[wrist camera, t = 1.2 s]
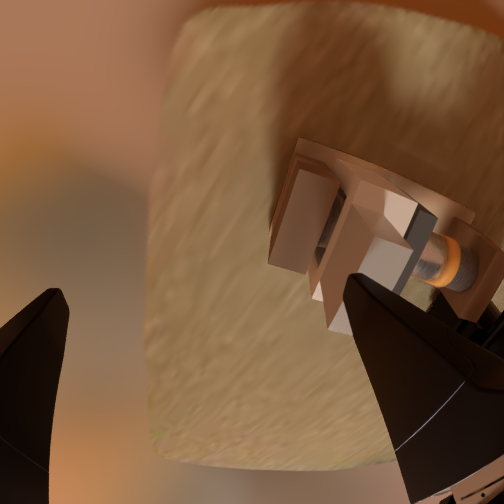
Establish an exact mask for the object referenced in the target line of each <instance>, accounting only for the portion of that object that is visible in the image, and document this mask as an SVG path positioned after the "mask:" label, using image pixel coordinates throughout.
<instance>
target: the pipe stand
mask: <svg viewBox="0 0 504 504" xmlns="http://www.w3.org/2000/svg"><path fill="white" fill-rule="evenodd" d="M337 158H338V159H340V160H343V161H346V162H348V163H351V164H354V165H356V166H359V167H362V168H364V169H367V170H369V171H372V172H374V173H377V174H379V175H381V176H382V177H384V178H385V179H386V180H388V181H389V182H391V183H392V184H393V185H395V186H396V187H398V188H400V189H401V190H403V191H404V192H405V193H407V194H408V195H409V196H411V197H412V198H413V199H415V200H416V201H417V202H419V203H420V204H421V205H422V206H424V207H425V208H426V209H427V210H429V211H430V212H431V213H432V214H434V215H435V216H436V217H437V218H438V220H437V223H436V225H435V227H434V229H433V231H432V234H431V236H430V238H429V240H428V242H427V244H426V246H425V248H424V250H423V252H422V254H421V256H420V258H419V260H418V262H417V264H416V266H415V268H414V270H413V272H412V274H411V275H410V277H409V279H412V280H415V281H418V282H421V283H424V284H427V285H430V286H433V287H436V288H439V290H440V291H441V292H442V294H443V295H444V297H445V298H446V300H447V301H448V303H449V304H450V306H451V307H452V309H453V310H454V312H455V313H456V315H457V316H458V318H461V319H465V320H468V321H472V322H475V323H476V322H477V321H478V319H479V318H480V316H481V315H482V313H483V312H484V310H485V309H486V307H487V306H488V304H489V302H490V301H491V299H492V297H493V296H494V294H495V292H496V291H497V289H498V287H499V286H500V284H501V282H502V280H503V278H504V252H503V251H502V250H501V249H500V248H499V247H498V246H496V245H495V244H494V243H493V242H492V241H490V240H489V239H488V238H487V237H486V236H484V235H483V234H482V233H481V232H479V231H478V230H477V229H475V228H474V227H473V226H472V225H471V224H472V222H473V219H474V217H475V215H476V214H475V213H474V212H473V211H471V210H470V209H468V208H466V207H464V206H462V205H460V204H458V203H457V202H455V201H453V200H451V199H449V198H447V197H445V196H443V195H441V194H439V193H437V192H435V191H433V190H431V189H429V188H427V187H425V186H423V185H420V184H418V183H416V182H414V181H412V180H410V179H407V178H405V177H403V176H401V175H399V174H396V173H394V172H392V171H389V170H387V169H385V168H382V167H380V166H377V165H375V164H372V163H370V162H367V161H365V160H362V159H360V158H357V157H355V156H352V155H349V154H347V153H344V152H341V151H339V150H336V149H333V148H330V147H327V146H324V145H322V144H319V143H316V142H313V141H310V140H307V139H304V138H300V137H298V141H297V144H296V147H295V150H294V153H293V156H292V160H291V163H290V166H289V169H288V172H287V176H286V179H285V182H284V185H283V188H282V191H281V194H280V198H279V201H278V204H277V207H276V210H275V213H274V216H273V219H272V223H271V226H270V229H269V235H270V236H271V240H270V249H269V257H268V264H270V265H274V266H277V267H281V268H284V269H288V270H291V271H295V272H298V273H302V274H306V271H307V269H308V266H309V264H310V262H311V259H312V257H313V254H314V252H315V249H316V247H317V246H319V247H322V248H325V249H326V248H327V246H328V243H329V241H330V238H331V236H332V234H333V231H334V229H335V226H336V224H337V221H338V218H339V216H340V213H341V211H342V208H343V206H344V203H345V200H346V197H343V196H340V195H337V192H338V189H339V187H340V184H341V182H340V181H339V180H338V179H337V177H336V176H335V175H334V174H333V172H332V171H333V168H334V165H335V162H336V159H337Z"/></svg>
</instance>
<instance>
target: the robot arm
mask: <svg viewBox="0 0 504 504" xmlns="http://www.w3.org/2000/svg"><path fill="white" fill-rule="evenodd" d="M343 302H344V305H345V309H346V312H347V316H348V319H349V323H350V326H351V330H352V334H353V337H354V340H355V343H356V346H357V348H358V351H359V353H360V356H361V358H362V361H363V363H364V366H365V369H366V371H367V374H368V377H369V379H370V382H371V385H372V387H373V390H374V393H375V395H376V398H377V401H378V404H379V406H380V409H381V412H382V415H383V418H384V421H385V424H386V427H387V429H388V432H389V435H390V438H391V441H392V444H393V448H394V450H395V454H396V457H397V461H398V463H399V467H400V470H401V473H402V477H403V480H404V483H405V486H406V490H407V494H408V497H409V501H410V503H411V504H415V503H417V502H420V501H422V500H424V499H426V498H429V497H431V496H433V495H435V494H437V493H439V492H441V491H443V490H445V489H447V488H449V487H450V489H451V491H452V494H451V495H450V496H448V497H446V498H445V499H443V500H441V501H440V503H439V504H504V311H503V312H502V313H501V312H500V311H499V310H498V308H497V307H496V306H495V304H494V303H493V302H492V301H490V302H489V304H488V306H487V307H486V309H485V310H484V312H483V313H482V315H481V316H480V318H479V319H478V321H477V322H476V323H475V322H472V321H468V320H465V319H461V318H458V316H457V315H456V313H455V312H454V310H453V309H452V307H451V306H450V304H449V303H448V301H447V300H446V298H445V297H444V295H443V294H442V292H441V294H440V295H439V297H438V299H437V300H436V302H435V304H434V305H433V307H432V309H431V310H430V312H429V313H426V312H424V311H423V310H421V309H420V308H418V307H417V306H415V305H413V304H412V303H410V302H409V301H407V300H405V299H404V298H402V297H401V296H399V295H397V294H396V293H394V292H392V291H391V290H389V289H388V288H386V287H384V286H383V285H381V284H379V283H378V282H376V281H374V280H373V279H371V278H369V277H368V276H366V275H364V274H363V273H351V274H349V275H348V277H347V281H346V284H345V288H344V292H343ZM68 321H69V307H68V305H67V303H66V300H65V298H64V295H63V293H62V291H61V289H59V288H49V289H47V290H46V291H45V292H43V293H42V294H41V295H40V296H38V297H37V298H36V299H34V300H33V301H32V302H31V303H30V304H28V305H27V306H26V307H25V308H23V310H21V311H20V312H19V313H17V314H16V315H15V316H14V317H13V318H12V319H10V320H9V321H8V322H7V323H6V324H5V325H3V326H2V327H1V328H0V504H49V459H50V443H51V434H52V425H53V416H54V409H55V402H56V395H57V389H58V384H59V377H60V373H61V368H62V362H63V357H64V350H65V343H66V335H67V328H68Z"/></svg>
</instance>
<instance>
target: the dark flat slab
mask: <svg viewBox="0 0 504 504" xmlns="http://www.w3.org/2000/svg"><path fill="white" fill-rule="evenodd" d="M397 188H398V187H397ZM399 189H400V188H399ZM400 190H401V189H400ZM401 191H403V190H401ZM403 192H404V191H403ZM404 193H405V192H404ZM405 194H407V193H405ZM407 195H408V194H407ZM408 196H409V195H408ZM409 197H411V196H409ZM411 198H412V197H411ZM412 199H413V198H412ZM413 200H415V199H413ZM415 201H416V200H415ZM416 202H417V201H416ZM417 203H418V205H417V207H416V209H415V212H414V214H413V216H412V219H411V221H410V223H409V225H408V228H407V230H406V232H405V234H404V236H403V238H404V239H405V241H406V242H407V243H408V244H409V245H410V247H411V248H412V249H413V252H412V254H411V256H410V258H409V260H408V262H407V264H406V266H405V268H404V270H403V272H402V273H401V275H400V277H399V279H398V281H397V283H396V285H395V286H394V288H393V290H392V292H394V293H396V294H397V295H400V293H401V292H402V290H403V288H404V286H405V285H406V283H407V281H408V279H409V277H410V275H411V274H412V272H413V270H414V268H415V266H416V264H417V262H418V260H419V258H420V256H421V254H422V252H423V250H424V248H425V246H426V244H427V242H428V240H429V238H430V236H431V234H432V231H433V229H434V227H435V225H436V223H437V220H438V218H437V217H436V216H435V215H434V214H432V213H431V212H430V211H429V210H427V209H426V208H425V207H424V206H422V205H421V204H420V203H419V202H417Z"/></svg>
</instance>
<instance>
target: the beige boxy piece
mask: <svg viewBox="0 0 504 504" xmlns="http://www.w3.org/2000/svg"><path fill="white" fill-rule="evenodd" d="M332 172H333V174H334V175H335V176H336V177H337V179H338V180H339V181H340V182H341V184H340V187H339V189H338V192H337V195H340V196H343V197H346V200H345V203H344V206H343V208H342V211H341V213H340V216H339V218H338V221H337V224H336V226H335V229H334V231H333V234H332V236H331V238H330V241H329V243H328V246H327V248H326V249H325V248H322V247H319V246H317V247H316V249H315V252H314V254H313V257H312V259H311V262H310V264H309V266H308V273H309V281H310V290H311V298H312V299H315V300H319V301H323V303H324V309H325V316H326V322H327V329H328V330H331V331H335V332H340V333H344V334H348V335H353V334H352V330H351V326H350V323H349V319H348V316H347V312H346V309H345V305H344V302H343V292H344V288H345V284H346V281H347V277H348V275H349V274H351V273H363V274H364V275H366V276H368V277H369V278H371V279H373V280H374V281H376V282H378V283H379V284H381V285H383V286H384V287H386V288H388V289H389V290H391V291H392V290H393V288H394V286H395V285H396V283H397V281H398V279H399V277H400V275H401V273H402V272H403V270H404V268H405V266H406V264H407V262H408V260H409V258H410V256H411V254H412V252H413V249H412V248H411V247H410V245H409V244H408V243H407V242H406V241H405V239H404V238H403V236H404V234H405V232H406V230H407V228H408V225H409V223H410V221H411V219H412V216H413V214H414V212H415V209H416V207H417V205H418V203H417V202H416V201H415V200H413V199H412V198H411V197H409V196H408V195H407V194H405V193H404V192H403V191H401V190H400V189H399V188H397V187H396V186H395V185H393V184H392V183H391V182H389V181H388V180H386V179H385V178H384V177H382V176H381V175H379V174H377V173H374V172H372V171H369V170H367V169H364V168H362V167H359V166H356V165H354V164H351V163H348V162H346V161H343V160H340V159H338V158H337V159H336V162H335V165H334V168H333V171H332Z"/></svg>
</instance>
